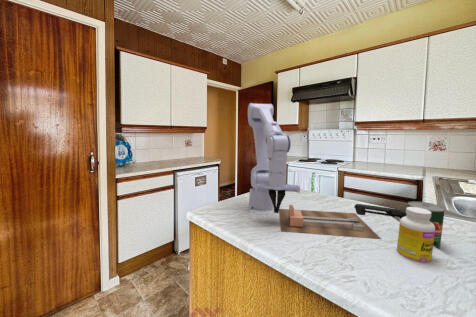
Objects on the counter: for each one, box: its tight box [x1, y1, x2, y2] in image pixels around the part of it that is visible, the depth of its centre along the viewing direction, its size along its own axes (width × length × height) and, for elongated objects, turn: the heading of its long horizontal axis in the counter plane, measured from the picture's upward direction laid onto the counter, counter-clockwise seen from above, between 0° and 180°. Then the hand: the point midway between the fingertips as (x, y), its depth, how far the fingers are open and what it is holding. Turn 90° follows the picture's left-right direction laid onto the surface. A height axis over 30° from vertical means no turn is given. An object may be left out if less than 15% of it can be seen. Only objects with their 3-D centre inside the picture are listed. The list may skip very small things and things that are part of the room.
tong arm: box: [303, 216, 360, 223], centre depth 71 cm, size 18×2×2 cm, turn 81°
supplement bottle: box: [396, 206, 435, 263], centre depth 53 cm, size 7×7×13 cm
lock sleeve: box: [288, 204, 303, 227], centre depth 71 cm, size 4×7×5 cm, turn 171°
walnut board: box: [278, 208, 382, 240], centre depth 73 cm, size 28×20×2 cm
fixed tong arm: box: [303, 219, 364, 231], centre depth 68 cm, size 21×2×2 cm, turn 81°
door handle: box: [353, 203, 407, 223], centre depth 79 cm, size 3×20×16 cm
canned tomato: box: [407, 201, 446, 250], centre depth 61 cm, size 8×8×11 cm
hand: (276, 211), depth 72 cm, fingers closed
